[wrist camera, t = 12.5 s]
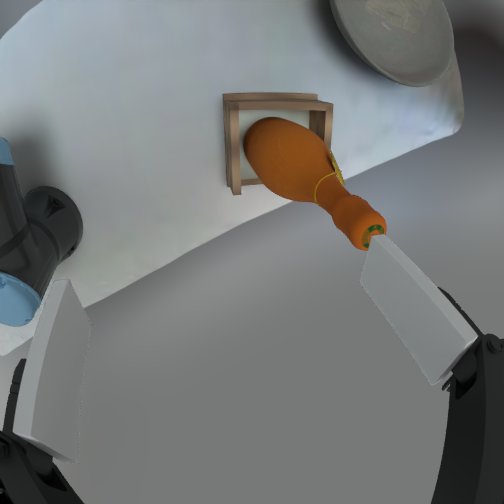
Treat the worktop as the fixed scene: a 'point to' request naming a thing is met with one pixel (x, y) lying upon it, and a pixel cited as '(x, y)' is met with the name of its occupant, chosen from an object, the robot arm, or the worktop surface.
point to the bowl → (399, 37)
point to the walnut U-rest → (261, 106)
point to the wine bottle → (308, 176)
